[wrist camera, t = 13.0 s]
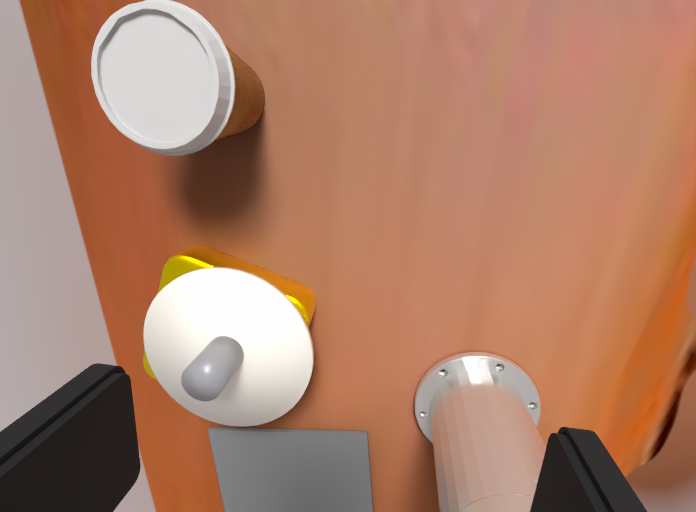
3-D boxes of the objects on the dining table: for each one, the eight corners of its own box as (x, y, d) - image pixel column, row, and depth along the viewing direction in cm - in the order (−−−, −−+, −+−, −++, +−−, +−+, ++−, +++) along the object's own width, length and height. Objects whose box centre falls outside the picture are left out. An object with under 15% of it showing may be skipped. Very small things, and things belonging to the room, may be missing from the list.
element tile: (161, 353, 46) (135, 377, 42) (189, 237, 42) (163, 249, 37) (281, 401, 46) (267, 430, 41) (322, 290, 41) (313, 309, 37)
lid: (319, 425, 40) (306, 471, 35) (164, 416, 43) (128, 458, 37) (307, 266, 36) (290, 290, 30) (133, 266, 38) (88, 288, 32)
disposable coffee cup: (263, 24, 34) (194, -32, 23) (294, 136, 37) (246, 135, 25) (167, 57, 36) (59, 21, 25) (203, 161, 39) (119, 172, 27)
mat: (376, 556, 50) (376, 560, 50) (234, 546, 53) (232, 550, 53) (367, 431, 45) (367, 434, 45) (209, 426, 48) (207, 429, 47)
